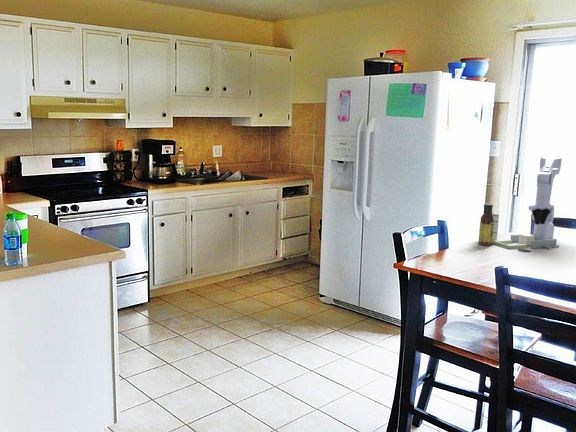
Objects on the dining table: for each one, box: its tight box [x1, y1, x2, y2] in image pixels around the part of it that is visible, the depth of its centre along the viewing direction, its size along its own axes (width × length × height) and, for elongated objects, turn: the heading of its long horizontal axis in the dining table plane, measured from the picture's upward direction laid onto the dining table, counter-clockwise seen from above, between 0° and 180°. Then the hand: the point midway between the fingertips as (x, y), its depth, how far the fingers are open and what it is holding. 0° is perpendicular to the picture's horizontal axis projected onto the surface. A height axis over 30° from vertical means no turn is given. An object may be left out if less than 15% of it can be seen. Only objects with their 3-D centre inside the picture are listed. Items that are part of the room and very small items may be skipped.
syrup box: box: [492, 211, 500, 243], centre depth 273 cm, size 6×6×14 cm
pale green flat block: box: [492, 239, 528, 250], centre depth 265 cm, size 10×11×2 cm
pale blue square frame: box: [510, 233, 558, 249], centre depth 271 cm, size 15×14×4 cm
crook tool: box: [541, 244, 560, 251], centre depth 263 cm, size 10×4×1 cm, turn 112°
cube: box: [517, 233, 535, 247], centre depth 269 cm, size 5×5×5 cm
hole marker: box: [516, 248, 532, 253], centre depth 256 cm, size 6×6×1 cm
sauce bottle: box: [478, 203, 494, 247], centre depth 264 cm, size 7×6×20 cm
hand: (539, 224), depth 270 cm, fingers open, 3 cm apart
